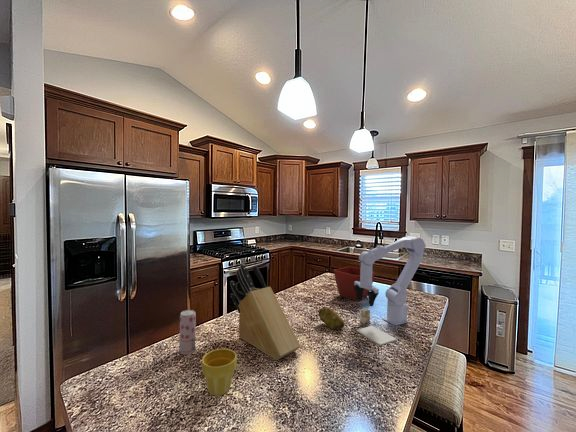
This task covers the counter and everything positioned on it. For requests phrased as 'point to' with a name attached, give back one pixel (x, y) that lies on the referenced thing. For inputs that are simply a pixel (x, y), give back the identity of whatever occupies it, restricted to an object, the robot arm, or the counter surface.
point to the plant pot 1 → (219, 370)
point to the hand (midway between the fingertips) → (365, 303)
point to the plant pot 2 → (349, 282)
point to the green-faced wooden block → (365, 315)
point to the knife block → (262, 316)
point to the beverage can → (187, 331)
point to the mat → (376, 335)
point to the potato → (331, 318)
